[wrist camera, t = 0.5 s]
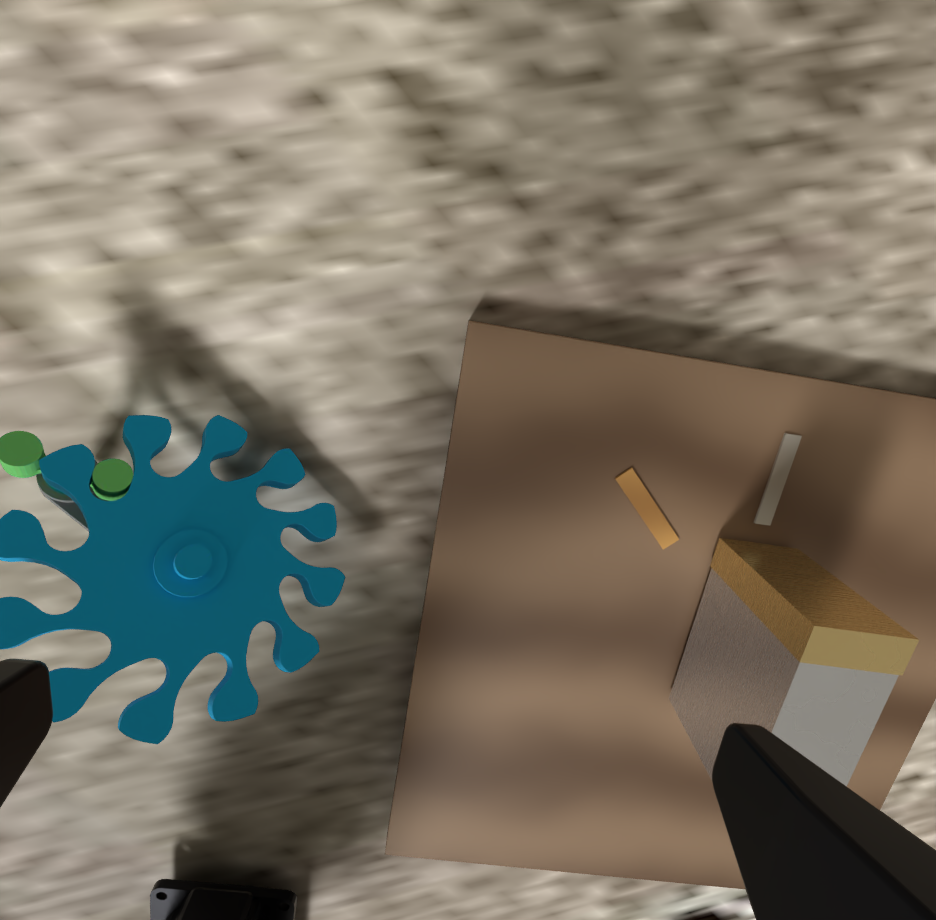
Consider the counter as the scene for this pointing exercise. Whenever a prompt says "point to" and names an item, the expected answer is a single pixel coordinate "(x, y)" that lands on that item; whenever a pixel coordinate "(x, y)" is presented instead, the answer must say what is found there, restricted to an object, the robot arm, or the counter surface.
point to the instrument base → (634, 592)
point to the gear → (165, 566)
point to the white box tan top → (787, 657)
